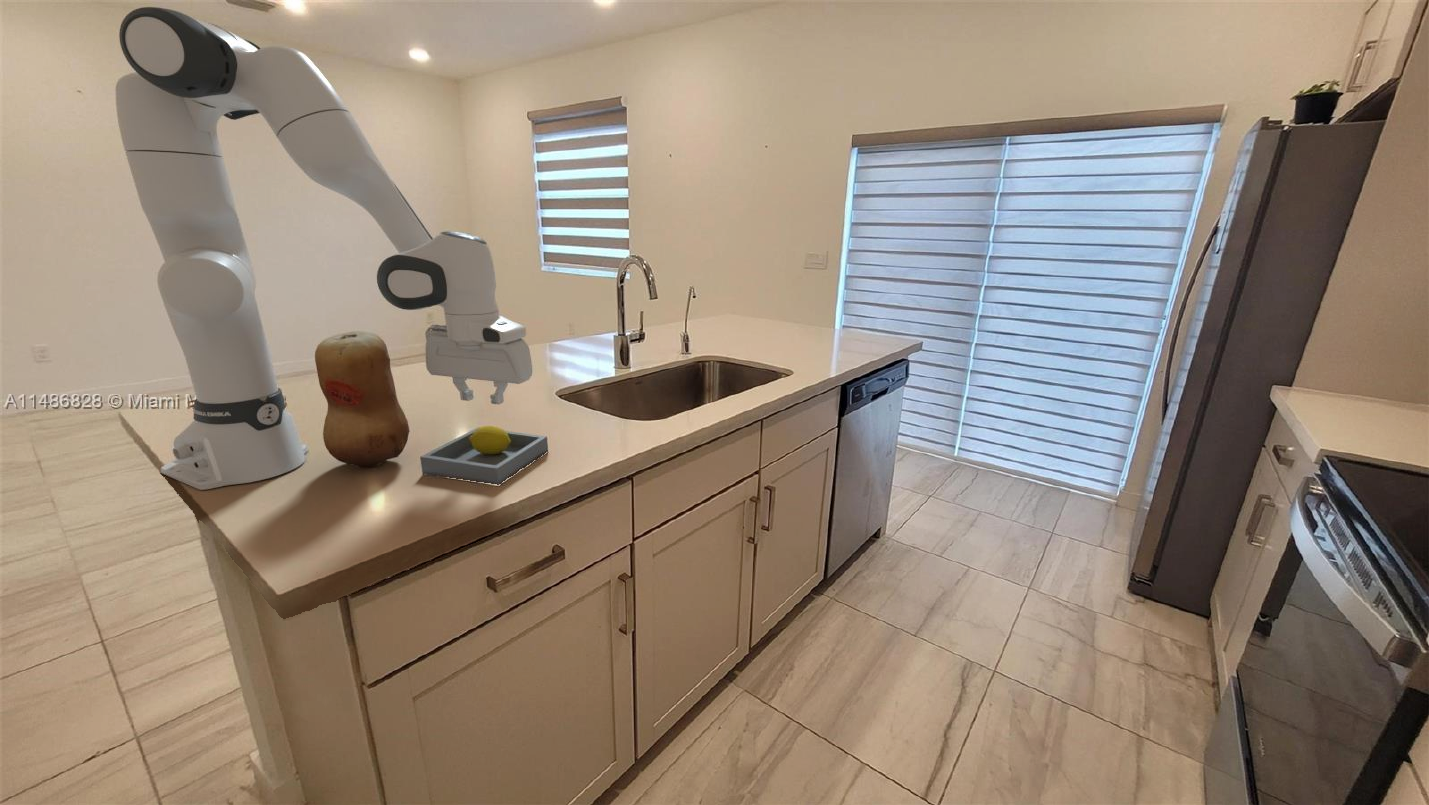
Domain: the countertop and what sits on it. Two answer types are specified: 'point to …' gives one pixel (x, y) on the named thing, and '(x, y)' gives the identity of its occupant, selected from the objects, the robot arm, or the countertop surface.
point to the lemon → (490, 440)
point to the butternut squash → (360, 400)
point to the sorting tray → (483, 458)
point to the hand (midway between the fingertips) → (482, 401)
